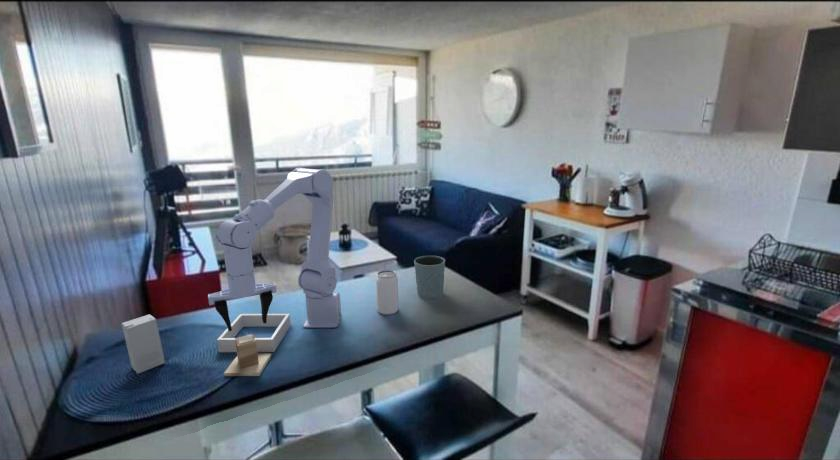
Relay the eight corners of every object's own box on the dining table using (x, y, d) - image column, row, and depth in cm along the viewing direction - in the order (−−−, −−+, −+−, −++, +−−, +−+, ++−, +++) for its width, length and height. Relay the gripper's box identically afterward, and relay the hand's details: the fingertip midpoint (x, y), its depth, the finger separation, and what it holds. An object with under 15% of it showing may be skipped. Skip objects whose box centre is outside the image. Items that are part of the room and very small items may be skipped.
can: (373, 313, 125) (372, 275, 122) (383, 304, 131) (382, 268, 128) (392, 316, 123) (391, 279, 120) (401, 307, 129) (401, 271, 125)
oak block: (258, 363, 98) (255, 340, 97) (240, 369, 96) (237, 345, 95) (255, 355, 102) (252, 333, 100) (238, 360, 100) (234, 337, 98)
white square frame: (290, 324, 118) (289, 313, 117) (274, 351, 105) (272, 339, 104) (241, 325, 118) (240, 313, 117) (218, 352, 105) (216, 339, 104)
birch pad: (271, 356, 103) (271, 353, 103) (259, 375, 95) (258, 372, 95) (239, 356, 103) (238, 353, 103) (224, 375, 95) (224, 372, 95)
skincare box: (159, 357, 103) (150, 312, 99) (166, 363, 100) (157, 318, 97) (130, 368, 98) (120, 322, 95) (136, 375, 95) (126, 328, 92)
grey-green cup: (445, 300, 133) (445, 265, 130) (413, 300, 134) (413, 265, 130) (444, 287, 143) (444, 255, 140) (414, 287, 143) (414, 255, 140)
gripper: (270, 261, 102) (276, 311, 105) (204, 271, 95) (212, 325, 99) (275, 270, 96) (281, 323, 99) (205, 282, 89) (214, 338, 93)
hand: (247, 325), depth 99 cm, fingers open, 7 cm apart
